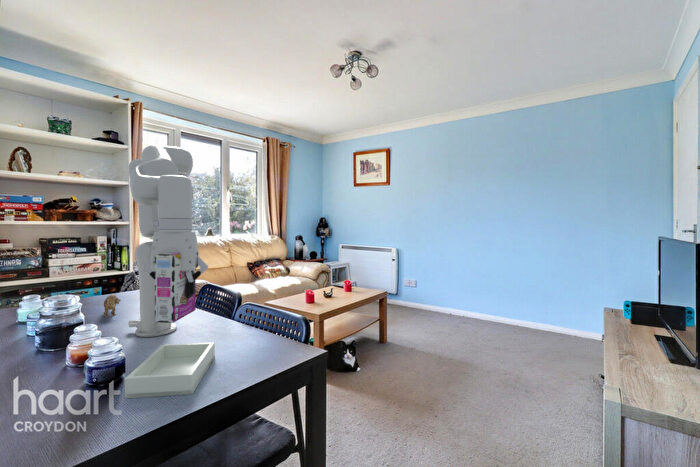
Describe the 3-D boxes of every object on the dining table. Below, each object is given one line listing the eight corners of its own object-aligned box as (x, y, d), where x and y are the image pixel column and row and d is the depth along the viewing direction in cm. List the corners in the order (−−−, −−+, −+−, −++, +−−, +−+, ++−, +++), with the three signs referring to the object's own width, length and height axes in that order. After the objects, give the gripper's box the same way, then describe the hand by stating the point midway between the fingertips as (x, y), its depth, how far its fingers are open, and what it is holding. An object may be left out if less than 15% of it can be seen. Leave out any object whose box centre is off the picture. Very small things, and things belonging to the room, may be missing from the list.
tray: (125, 398, 74) (124, 378, 74) (162, 360, 94) (162, 344, 94) (192, 394, 76) (191, 374, 76) (214, 357, 96) (214, 342, 96)
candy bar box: (175, 323, 79) (173, 254, 78) (154, 323, 79) (152, 254, 78) (197, 310, 90) (196, 249, 89) (179, 310, 90) (177, 249, 90)
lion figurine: (121, 316, 135) (121, 294, 135) (105, 319, 132) (105, 296, 131) (114, 309, 146) (114, 289, 145) (99, 311, 142) (98, 290, 142)
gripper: (130, 225, 79) (132, 302, 80) (207, 226, 81) (208, 300, 82) (145, 224, 86) (146, 294, 87) (215, 225, 89) (216, 293, 90)
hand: (176, 296), depth 85 cm, fingers closed on candy bar box, 5 cm apart
